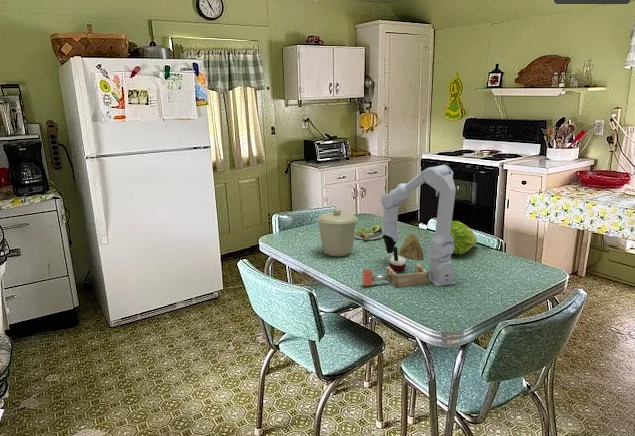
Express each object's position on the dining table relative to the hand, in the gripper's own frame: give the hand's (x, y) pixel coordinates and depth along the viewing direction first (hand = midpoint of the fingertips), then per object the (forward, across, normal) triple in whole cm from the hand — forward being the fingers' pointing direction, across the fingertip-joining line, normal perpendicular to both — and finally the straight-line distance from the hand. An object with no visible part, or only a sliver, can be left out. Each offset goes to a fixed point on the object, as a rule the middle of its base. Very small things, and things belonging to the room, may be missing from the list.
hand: (389, 252), depth 194 cm
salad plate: (+6, +42, -4) cm, 42 cm away
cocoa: (+5, -9, 0) cm, 10 cm away
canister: (+6, +19, +18) cm, 27 cm away
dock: (+5, -18, 0) cm, 19 cm away
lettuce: (+5, +6, -35) cm, 36 cm away
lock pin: (+4, -20, +12) cm, 24 cm away
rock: (+5, +5, -12) cm, 14 cm away
